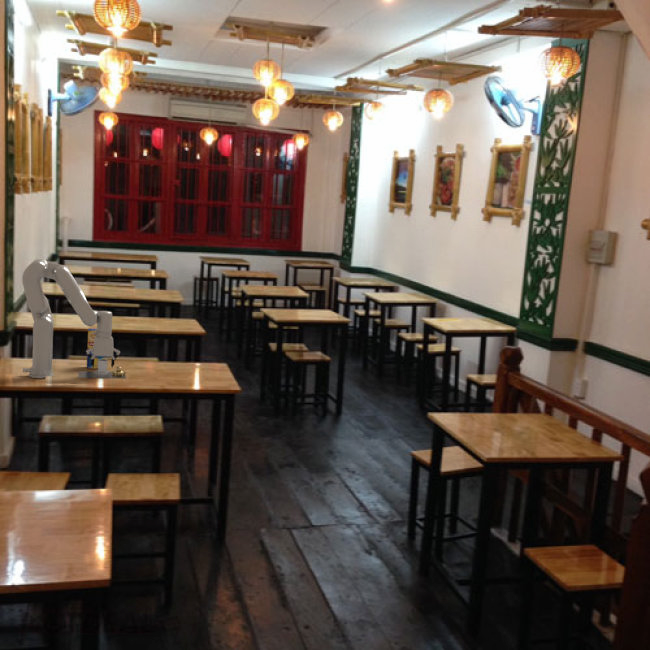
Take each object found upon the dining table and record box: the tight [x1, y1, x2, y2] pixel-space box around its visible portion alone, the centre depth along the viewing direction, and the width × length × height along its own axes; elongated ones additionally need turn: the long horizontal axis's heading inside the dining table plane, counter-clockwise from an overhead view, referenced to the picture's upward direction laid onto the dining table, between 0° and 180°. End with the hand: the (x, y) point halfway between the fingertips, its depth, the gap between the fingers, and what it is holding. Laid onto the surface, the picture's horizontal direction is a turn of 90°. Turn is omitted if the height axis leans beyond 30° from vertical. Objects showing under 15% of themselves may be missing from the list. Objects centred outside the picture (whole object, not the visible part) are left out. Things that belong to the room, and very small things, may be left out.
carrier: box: [77, 366, 127, 380], centre depth 408 cm, size 24×16×6 cm, turn 108°
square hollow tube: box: [93, 359, 111, 377], centre depth 407 cm, size 8×8×8 cm
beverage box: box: [86, 328, 109, 369], centre depth 426 cm, size 7×11×22 cm, turn 104°
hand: (102, 366), depth 407 cm, fingers open, 9 cm apart
